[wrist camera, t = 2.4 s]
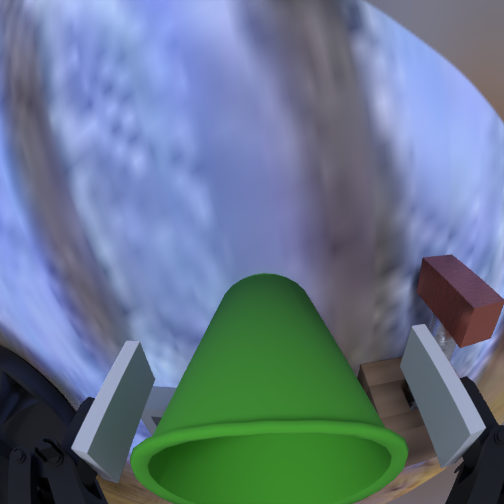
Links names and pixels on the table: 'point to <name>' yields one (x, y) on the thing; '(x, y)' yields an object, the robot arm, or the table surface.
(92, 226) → the table surface
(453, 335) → the pin
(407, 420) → the mount
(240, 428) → the cup
